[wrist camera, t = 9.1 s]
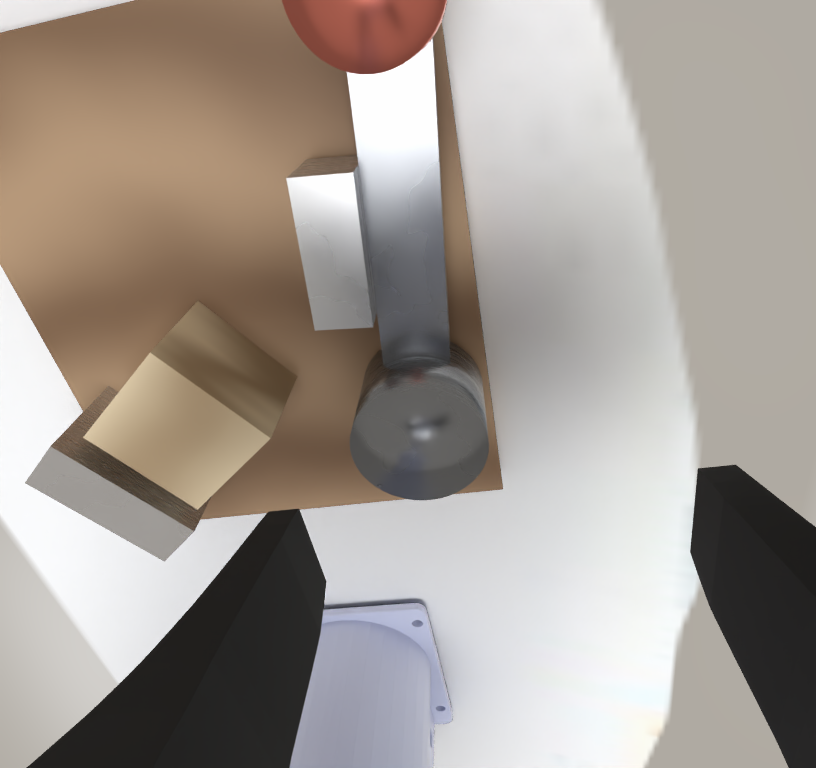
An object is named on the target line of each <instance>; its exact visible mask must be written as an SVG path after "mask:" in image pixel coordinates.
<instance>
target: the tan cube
mask: <svg viewBox="0 0 816 768" xmlns="http://www.w3.org/2000/svg"><path fill="white" fill-rule="evenodd" d="M296 379H297V376H296V375H294V374H293V373H292V372H290V371H289V370H288V369H287V368H285V367H284V366H283V365H281V364H280V363H279V362H277V361H276V360H275V359H274V358H272V357H271V356H270V355H268V354H267V353H266V352H264V351H263V350H262V349H260V348H259V347H258V346H257V345H255V344H254V343H253V342H251V341H250V340H249V339H247V338H246V337H245V336H244V335H242V334H241V333H240V332H238V331H237V330H236V329H234V328H233V327H232V326H230V325H229V324H228V323H227V322H225V321H224V320H223V319H221V318H220V317H219V316H217V315H216V314H215V313H214V312H212V311H211V310H210V309H208V308H207V307H206V306H204V305H203V304H202V303H200V302H199V301H197V302H196V303H195V304H194V306H193V307H192V308H191V309H190V310H189V311H188V312H187V313H186V314H185V315H184V316H183V317H182V319H181V320H180V321H179V322H178V323H177V324H176V325H175V326H174V327H173V328H172V329H171V330H170V331H169V333H168V334H167V335H166V336H165V337H164V338H163V339H162V340H161V341H160V342H159V343H158V344H157V346H156V347H155V348H154V349H153V350H152V351H151V352H150V353H149V355H148V356H147V357H146V358H145V360H144V361H143V362H142V363H141V365H140V366H139V367H138V368H137V370H136V371H135V372H134V374H133V375H132V376H131V377H130V379H129V380H128V381H127V382H126V384H125V385H124V386H123V387H122V389H121V390H120V391H119V393H118V394H117V395H116V396H115V398H114V399H113V400H112V401H111V403H110V404H109V405H108V407H107V408H106V409H105V410H104V412H103V413H102V414H101V415H100V417H99V418H98V419H97V420H96V422H95V423H94V424H93V426H92V427H91V428H90V429H89V431H88V432H87V433H86V434H85V436H84V437H83V438H85V439H86V440H88V441H89V442H91V443H93V444H94V445H96V446H97V447H99V448H101V449H102V450H104V451H105V452H107V453H108V454H110V455H112V456H113V457H115V458H116V459H118V460H120V461H121V462H123V463H124V464H126V465H128V466H129V467H131V468H132V469H134V470H135V471H137V472H139V473H140V474H142V475H143V476H145V477H147V478H148V479H150V480H151V481H153V482H154V483H156V484H158V485H159V486H161V487H162V488H164V489H166V490H167V491H169V492H170V493H172V494H174V495H175V496H177V497H178V498H180V499H181V500H183V501H185V502H186V503H188V504H189V505H191V506H193V507H194V508H196V509H197V510H198V509H199V508H200V507H201V506H202V505H203V504H204V503H205V502H206V501H207V500H208V499H209V498H210V497H211V496H212V495H213V494H214V493H215V492H216V491H217V490H218V489H219V488H220V487H221V486H222V485H223V484H225V483H226V482H227V481H228V480H229V479H230V478H231V477H232V476H233V475H234V474H235V473H236V472H237V471H238V470H239V469H240V468H241V467H242V466H243V465H244V464H245V463H246V462H247V461H248V460H249V459H250V458H251V457H252V456H253V455H254V454H255V453H256V452H257V451H258V450H259V449H260V448H261V447H263V446H264V445H265V444H266V443H267V442H268V441H269V440H270V439H271V437H272V435H273V432H274V430H275V428H276V425H277V423H278V421H279V418H280V416H281V414H282V411H283V409H284V407H285V404H286V402H287V400H288V397H289V395H290V393H291V391H292V388H293V386H294V384H295V381H296Z"/></svg>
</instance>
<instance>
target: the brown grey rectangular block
mask: <svg viewBox="0 0 816 768" xmlns="http://www.w3.org/2000/svg"><path fill="white" fill-rule="evenodd" d="M118 393H119V392H118V391H116V390H115V389H113V388H112V387H110V386H108V387H107V388H106V389H105V390H104V391H103V392H102V393H101V394H100V395H99V396H98V397H97V398H96V399H95V400H94V401H93V403H92V404H91V405H90V406H89V407H88V408H87V409H86V410H85V411H84V412H83V413H82V414H81V415H80V416H79V417H78V418H77V419H76V420H75V421H74V422H73V423H72V425H71V426H70V427H69V428H68V429H67V430H66V431H65V432H64V433H63V434H62V435H61V436H60V437H59V438H58V439H57V440H56V441H55V442H54V443H53V444H52V445H51V447H50V448H49V449H48V451H47V452H46V454H45V455H44V457H43V458H42V459H41V461H40V462H39V464H38V465H37V467H36V468H35V469H34V471H33V472H32V474H31V475H30V477H29V478H28V479H27V481H26V482H25V483H26V484H28V485H30V486H31V487H33V488H35V489H37V490H38V491H40V492H42V493H44V494H46V495H47V496H49V497H51V498H53V499H54V500H56V501H58V502H60V503H62V504H63V505H65V506H67V507H69V508H70V509H72V510H74V511H76V512H78V513H79V514H81V515H83V516H85V517H86V518H88V519H90V520H92V521H94V522H95V523H97V524H99V525H101V526H102V527H104V528H106V529H108V530H110V531H111V532H113V533H115V534H117V535H118V536H120V537H122V538H124V539H126V540H127V541H129V542H131V543H133V544H134V545H136V546H138V547H140V548H142V549H143V550H145V551H147V552H149V553H150V554H152V555H154V556H156V557H158V558H159V559H161V560H163V561H165V560H166V559H167V558H168V557H169V556H170V555H171V554H172V553H173V552H174V551H175V550H176V549H177V548H178V547H179V546H180V545H181V544H182V543H183V542H184V541H185V540H186V539H187V538H188V537H189V536H190V535H191V534H192V533H193V532H194V531H195V529H196V527H197V525H198V523H199V521H200V519H201V517H202V515H203V513H204V511H205V509H206V507H207V505H208V503H209V501H210V499H211V497H212V496H211V497H210V498H209V499H208V500H207V501H206V502H205V503H204V504H203V505H202V506H201V507H200V508H199V509H198V510H197V509H196V508H194V507H193V506H191V505H189V504H188V503H186V502H185V501H183V500H181V499H180V498H178V497H177V496H175V495H174V494H172V493H170V492H169V491H167V490H166V489H164V488H162V487H161V486H159V485H158V484H156V483H154V482H153V481H151V480H150V479H148V478H147V477H145V476H143V475H142V474H140V473H139V472H137V471H135V470H134V469H132V468H131V467H129V466H128V465H126V464H124V463H123V462H121V461H120V460H118V459H116V458H115V457H113V456H112V455H110V454H108V453H107V452H105V451H104V450H102V449H101V448H99V447H97V446H96V445H94V444H93V443H91V442H89V441H88V440H86V439H85V438H83V437H84V436H85V434H86V433H87V432H88V431H89V429H90V428H91V427H92V426H93V424H94V423H95V422H96V420H97V419H98V418H99V417H100V415H101V414H102V413H103V412H104V410H105V409H106V408H107V407H108V405H109V404H110V403H111V401H112V400H113V399H114V398H115V396H116V395H117V394H118Z"/></svg>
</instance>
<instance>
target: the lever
mask: <svg viewBox="0 0 816 768" xmlns="http://www.w3.org/2000/svg"><path fill="white" fill-rule="evenodd" d="M282 3H283V6H284V9H285V12H286V14H287V16H288V18H289V21H290V23H291V25H292V26H293V28H294V30H295V31H296V33H297V35H298V36H299V37H300V39H301V40H302V41H303V43H304V44H305V45H306V46H307V47H308V48H309V49H310V50H311V51H312V52H313V53H314V54H315V55H316V56H318V57H319V58H320V59H321V60H323V61H324V62H326V63H328V64H329V65H331V66H333V67H335V68H337V69H340V70H342V71H346V72H347V76H348V84H349V92H350V100H351V108H352V116H353V124H354V132H355V140H356V148H357V155H349V156H337V157H325V158H313V159H307V160H305V161H304V162H303V163H302V164H301V165H300V166H299V167H298V168H297V169H296V170H294V171H293V172H292V173H291V174H290V175H289V176H288V177H287V178H286V180H287V185H288V190H289V196H290V201H291V206H292V212H293V217H294V222H295V228H296V233H297V238H298V243H299V249H300V254H301V259H302V265H303V270H304V275H305V281H306V286H307V291H308V297H309V302H310V307H311V313H312V318H313V323H314V329H315V331H316V330H334V329H352V328H371V327H373V326H374V322H375V318H376V314H377V317H378V325H379V333H380V341H381V350H380V351H379V352H378V353H376V355H375V356H374V357H373V358H372V359H371V361H370V363H369V364H368V366H367V369H366V371H365V375H364V379H363V384H362V388H361V392H360V396H359V400H358V404H357V409H356V413H355V417H354V421H353V425H352V430H351V434H350V452H351V455H352V459H353V461H354V463H355V465H356V467H357V468H358V470H359V471H360V473H361V474H362V475H363V476H364V477H365V478H366V479H367V480H368V481H369V482H370V483H371V484H373V485H374V486H375V487H377V488H379V489H380V490H382V491H384V492H386V493H388V494H391V495H394V496H397V497H401V498H405V499H412V500H432V499H438V498H443V497H446V496H449V495H452V494H454V493H457V492H458V491H460V490H462V489H464V488H465V487H467V486H468V485H469V484H471V483H472V482H473V481H474V480H475V479H476V478H477V477H478V475H479V474H480V473H481V471H482V469H483V468H484V466H485V463H486V461H487V457H488V453H489V440H488V430H487V420H486V411H485V401H484V391H483V381H482V377H481V373H480V371H479V368H478V366H477V364H476V363H475V361H474V360H473V359H472V357H471V356H470V355H469V354H468V353H467V352H466V351H465V350H464V349H462V348H461V347H459V346H458V345H456V344H454V343H452V342H450V329H449V311H448V293H447V274H446V256H445V238H444V220H443V202H442V183H441V165H440V147H439V129H438V111H437V92H436V74H435V56H434V38H433V37H434V35H435V34H436V32H437V30H438V28H439V26H440V24H441V22H442V19H443V16H444V13H445V9H446V5H447V0H282Z"/></svg>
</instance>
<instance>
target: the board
mask: <svg viewBox="0 0 816 768" xmlns="http://www.w3.org/2000/svg"><path fill="white" fill-rule="evenodd" d="M433 38H434V56H435V74H436V92H437V111H438V129H439V147H440V165H441V183H442V202H443V220H444V238H445V256H446V274H447V293H448V311H449V329H450V342H452V343H454V344H456V345H458V346H459V347H461V348H462V349H464V350H465V351H466V352H467V353H468V354H469V355H470V356H471V357H472V359H473V360H474V361H475V363H476V364H477V366H478V368H479V371H480V373H481V377H482V381H483V391H484V401H485V411H486V420H487V430H488V440H489V453H488V457H487V461H486V463H485V466H484V468H483V469H482V471H481V473H480V474H479V475H478V477H477V478H476V479H475V480H474V481H473V482H472V483H471V484H469V485H468V486H467V487H465V488H464V489H462V490H460V491H458V492H457V493H454V494H460V493H470V492H480V491H490V490H500V489H503V485H502V477H501V469H500V462H499V454H498V446H497V439H496V431H495V423H494V416H493V408H492V401H491V393H490V385H489V378H488V370H487V362H486V355H485V347H484V340H483V332H482V324H481V317H480V309H479V301H478V294H477V286H476V279H475V271H474V263H473V256H472V248H471V240H470V233H469V225H468V218H467V210H466V202H465V195H464V187H463V179H462V172H461V164H460V157H459V149H458V141H457V134H456V126H455V118H454V111H453V103H452V96H451V88H450V80H449V73H448V65H447V57H446V50H445V42H444V35H443V27H442V22H441V24H440V26H439V28H438V30H437V32H436V34H435V35H434V37H433ZM349 155H357V148H356V140H355V132H354V124H353V116H352V108H351V100H350V92H349V84H348V76H347V72H346V71H342V70H340V69H337V68H335V67H333V66H331V65H329V64H328V63H326V62H324V61H323V60H321V59H320V58H319V57H318V56H316V55H315V54H314V53H313V52H312V51H311V50H310V49H309V48H308V47H307V46H306V45H305V44H304V43H303V41H302V40H301V39H300V37H299V36H298V35H297V33H296V31H295V30H294V28H293V26H292V25H291V23H290V21H289V18H288V16H287V14H286V12H285V9H284V6H283V3H282V0H135V1H130V2H126V3H122V4H118V5H114V6H110V7H105V8H101V9H97V10H93V11H89V12H85V13H81V14H76V15H72V16H68V17H64V18H60V19H56V20H52V21H47V22H43V23H39V24H35V25H31V26H27V27H23V28H18V29H14V30H10V31H6V32H2V33H0V265H1V267H2V268H3V270H4V272H5V274H6V275H7V277H8V279H9V281H10V283H11V284H12V286H13V288H14V290H15V291H16V293H17V295H18V297H19V298H20V300H21V302H22V304H23V306H24V307H25V309H26V311H27V313H28V314H29V316H30V318H31V320H32V321H33V323H34V325H35V327H36V329H37V330H38V332H39V334H40V336H41V337H42V339H43V341H44V343H45V344H46V346H47V348H48V350H49V352H50V353H51V355H52V357H53V359H54V360H55V362H56V364H57V366H58V368H59V369H60V371H61V373H62V375H63V376H64V378H65V380H66V382H67V383H68V385H69V387H70V389H71V391H72V392H73V394H74V396H75V398H76V399H77V401H78V403H79V405H80V406H81V408H82V410H83V412H84V411H85V410H86V409H87V408H88V407H89V406H90V405H91V404H92V403H93V401H94V400H95V399H96V398H97V397H98V396H99V395H100V394H101V393H102V392H103V391H104V390H105V389H106V388H107V387H108V386H110V387H112V388H113V389H115V390H116V391H118V392H119V391H120V390H121V389H122V387H123V386H124V385H125V384H126V382H127V381H128V380H129V379H130V377H131V376H132V375H133V374H134V372H135V371H136V370H137V368H138V367H139V366H140V365H141V363H142V362H143V361H144V360H145V358H146V357H147V356H148V355H149V353H150V352H151V351H152V350H153V349H154V348H155V347H156V346H157V344H158V343H159V342H160V341H161V340H162V339H163V338H164V337H165V336H166V335H167V334H168V333H169V331H170V330H171V329H172V328H173V327H174V326H175V325H176V324H177V323H178V322H179V321H180V320H181V319H182V317H183V316H184V315H185V314H186V313H187V312H188V311H189V310H190V309H191V308H192V307H193V306H194V304H195V303H196V302H197V301H199V302H200V303H202V304H203V305H204V306H206V307H207V308H208V309H210V310H211V311H212V312H214V313H215V314H216V315H217V316H219V317H220V318H221V319H223V320H224V321H225V322H227V323H228V324H229V325H230V326H232V327H233V328H234V329H236V330H237V331H238V332H240V333H241V334H242V335H244V336H245V337H246V338H247V339H249V340H250V341H251V342H253V343H254V344H255V345H257V346H258V347H259V348H260V349H262V350H263V351H264V352H266V353H267V354H268V355H270V356H271V357H272V358H274V359H275V360H276V361H277V362H279V363H280V364H281V365H283V366H284V367H285V368H287V369H288V370H289V371H290V372H292V373H293V374H294V375H296V376H297V379H296V381H295V384H294V386H293V388H292V391H291V393H290V395H289V397H288V400H287V402H286V404H285V407H284V409H283V411H282V414H281V416H280V418H279V421H278V423H277V425H276V428H275V430H274V432H273V435H272V437H271V439H270V440H269V441H268V442H267V443H266V444H265V445H264V446H263V447H261V448H260V449H259V450H258V451H257V452H256V453H255V454H254V455H253V456H252V457H251V458H250V459H249V460H248V461H247V462H246V463H245V464H244V465H243V466H242V467H241V468H240V469H239V470H238V471H237V472H236V473H235V474H234V475H233V476H232V477H231V478H230V479H229V480H228V481H227V482H226V483H225V484H223V485H222V486H221V487H220V488H219V489H218V490H217V491H216V492H215V493H214V494H213V495H212V497H211V499H210V501H209V503H208V505H207V507H206V509H205V511H204V513H203V515H202V517H201V519H210V518H220V517H230V516H240V515H250V514H260V513H268V512H269V511H279V510H289V509H299V510H300V509H310V508H320V507H330V506H340V505H350V504H360V503H370V502H380V501H390V500H400V499H405V498H401V497H397V496H394V495H391V494H388V493H386V492H384V491H382V490H380V489H379V488H377V487H375V486H374V485H373V484H371V483H370V482H369V481H368V480H367V479H366V478H365V477H364V476H363V475H362V474H361V473H360V471H359V470H358V468H357V467H356V465H355V463H354V461H353V459H352V455H351V452H350V434H351V430H352V425H353V421H354V417H355V413H356V409H357V404H358V400H359V396H360V392H361V388H362V384H363V379H364V375H365V371H366V369H367V366H368V364H369V363H370V361H371V359H372V358H373V357H374V356H375V355H376V353H378V352H379V351H380V350H381V341H380V333H379V325H378V317H377V314H376V318H375V322H374V326H373V327H371V328H352V329H334V330H316V331H315V329H314V323H313V318H312V313H311V307H310V302H309V297H308V291H307V286H306V281H305V275H304V270H303V265H302V259H301V254H300V249H299V243H298V238H297V233H296V228H295V222H294V217H293V212H292V206H291V201H290V196H289V190H288V185H287V180H286V178H287V177H288V176H289V175H290V174H291V173H292V172H293V171H294V170H296V169H297V168H298V167H299V166H300V165H301V164H302V163H303V162H304V161H305V160H307V159H313V158H325V157H337V156H349Z"/></svg>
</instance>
